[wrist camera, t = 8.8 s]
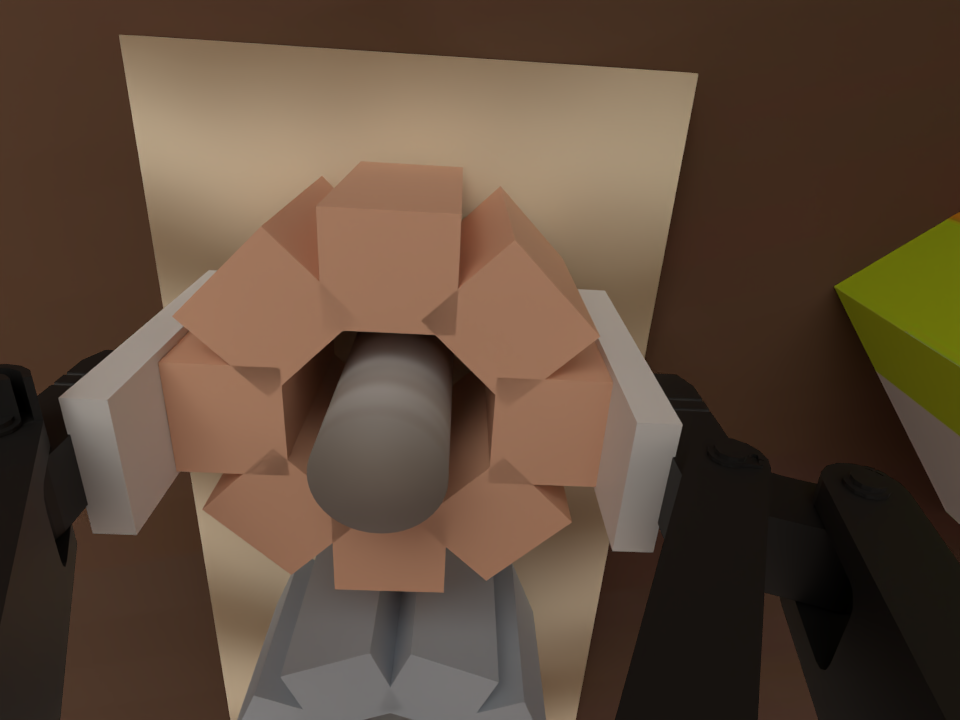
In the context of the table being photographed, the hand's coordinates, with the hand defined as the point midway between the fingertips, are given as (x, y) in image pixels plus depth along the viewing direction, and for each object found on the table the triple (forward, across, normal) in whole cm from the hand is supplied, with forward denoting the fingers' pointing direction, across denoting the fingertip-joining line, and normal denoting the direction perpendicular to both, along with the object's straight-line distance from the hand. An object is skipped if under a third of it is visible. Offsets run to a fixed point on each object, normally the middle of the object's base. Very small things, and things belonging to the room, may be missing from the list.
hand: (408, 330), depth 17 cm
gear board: (+2, 0, -6) cm, 6 cm away
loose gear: (0, 0, 0) cm, 0 cm away
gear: (+1, 0, -11) cm, 11 cm away
